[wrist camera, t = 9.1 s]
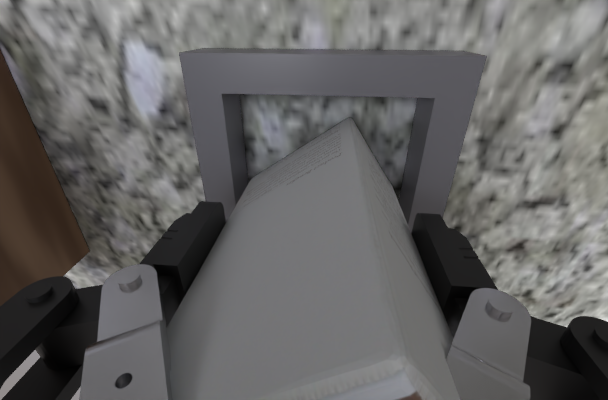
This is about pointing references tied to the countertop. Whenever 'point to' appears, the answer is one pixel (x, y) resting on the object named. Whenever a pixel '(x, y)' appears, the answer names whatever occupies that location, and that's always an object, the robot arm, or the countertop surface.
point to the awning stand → (30, 202)
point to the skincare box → (313, 291)
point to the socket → (333, 82)
